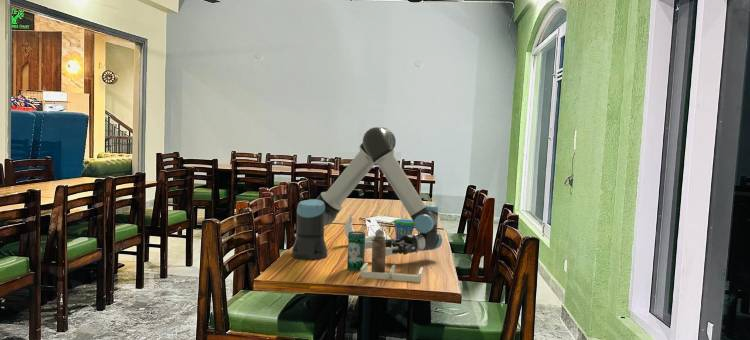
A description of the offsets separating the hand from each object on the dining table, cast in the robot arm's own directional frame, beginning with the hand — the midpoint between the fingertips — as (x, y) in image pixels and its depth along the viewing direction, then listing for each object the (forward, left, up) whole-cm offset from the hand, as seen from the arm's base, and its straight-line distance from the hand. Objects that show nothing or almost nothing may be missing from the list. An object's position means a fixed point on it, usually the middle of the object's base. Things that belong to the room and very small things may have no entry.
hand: (373, 248), depth 217 cm
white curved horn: (-12, +44, -8) cm, 46 cm away
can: (-6, -6, -8) cm, 12 cm away
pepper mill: (+4, -13, -7) cm, 15 cm away
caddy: (+9, -13, -8) cm, 18 cm away
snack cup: (+5, +63, -8) cm, 64 cm away
